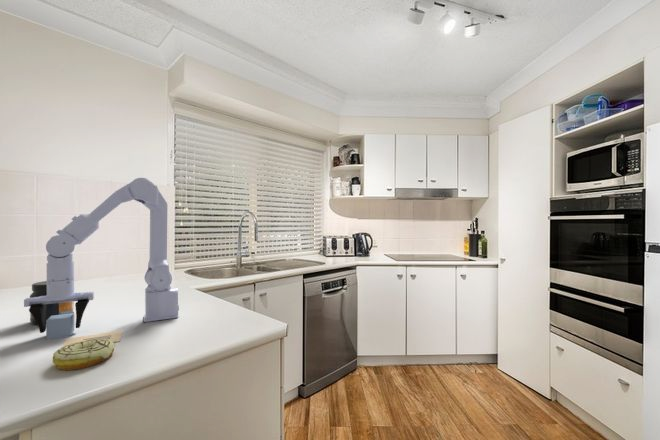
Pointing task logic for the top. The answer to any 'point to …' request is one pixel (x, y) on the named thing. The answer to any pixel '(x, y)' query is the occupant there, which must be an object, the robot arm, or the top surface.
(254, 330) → the top surface
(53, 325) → the powder blue cube
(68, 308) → the supplement container
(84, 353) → the decorated donut
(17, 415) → the top surface
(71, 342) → the letter card
